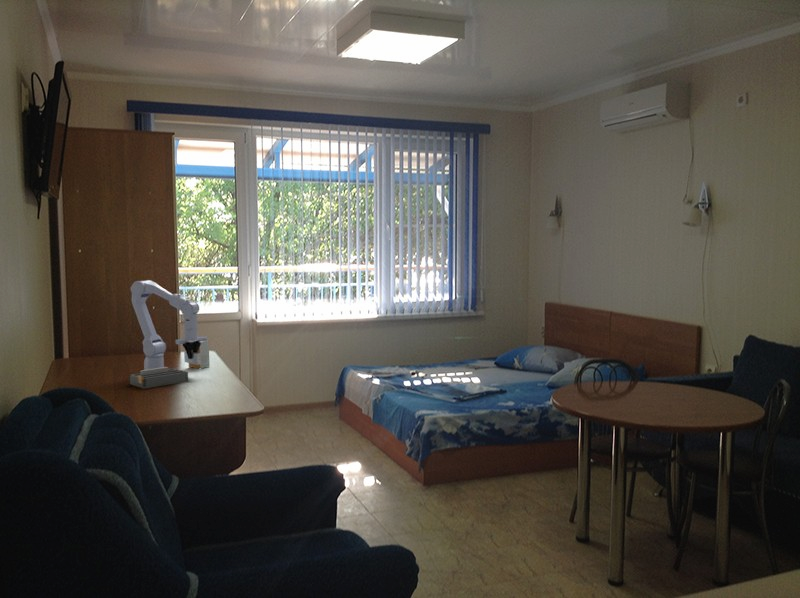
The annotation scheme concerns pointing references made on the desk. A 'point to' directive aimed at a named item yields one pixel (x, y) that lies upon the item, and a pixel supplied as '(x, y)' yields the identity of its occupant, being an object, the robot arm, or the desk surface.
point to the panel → (193, 358)
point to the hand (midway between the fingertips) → (192, 358)
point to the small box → (202, 355)
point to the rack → (158, 377)
